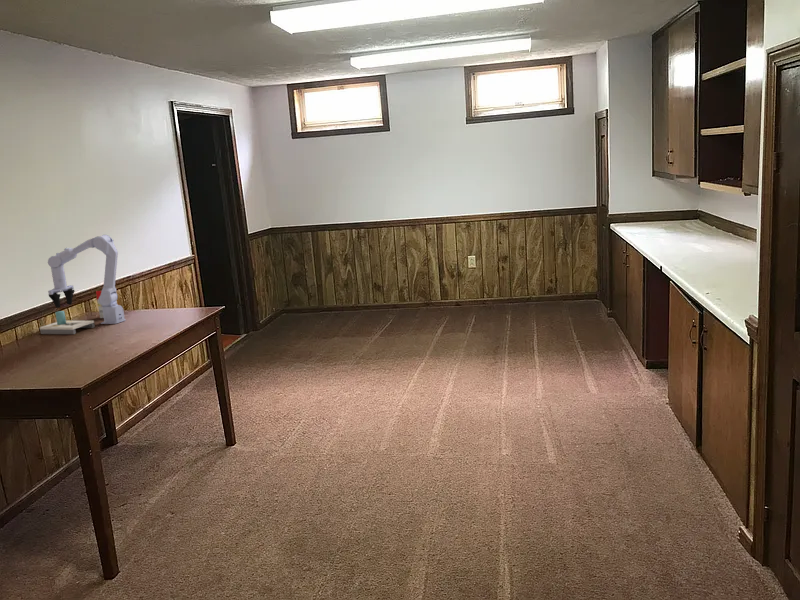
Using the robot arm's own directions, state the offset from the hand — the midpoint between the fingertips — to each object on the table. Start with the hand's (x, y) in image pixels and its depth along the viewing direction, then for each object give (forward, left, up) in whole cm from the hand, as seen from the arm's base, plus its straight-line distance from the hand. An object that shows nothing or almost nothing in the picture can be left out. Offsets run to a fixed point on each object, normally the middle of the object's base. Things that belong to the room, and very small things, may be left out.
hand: (64, 305), depth 345 cm
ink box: (-9, -20, -11) cm, 24 cm away
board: (-9, +9, -10) cm, 16 cm away
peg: (-6, +9, -10) cm, 15 cm away
